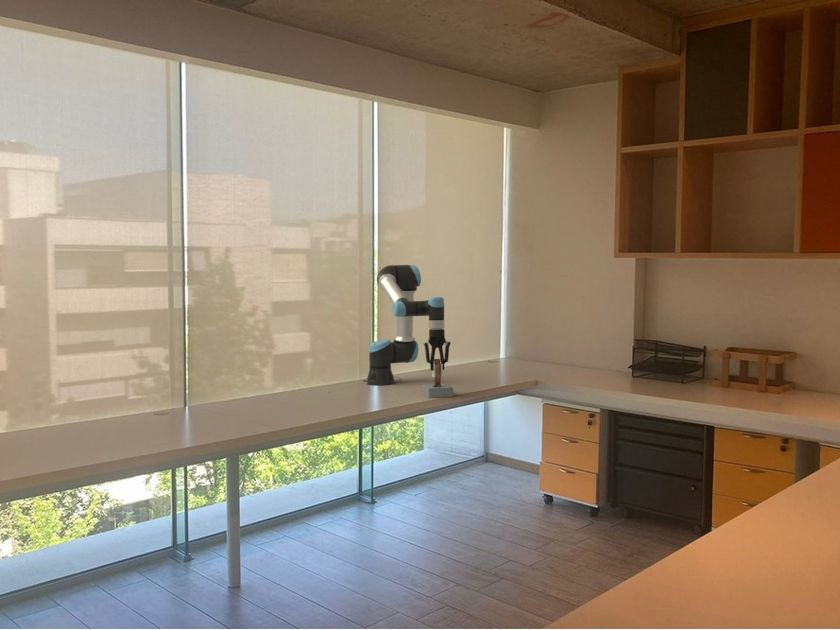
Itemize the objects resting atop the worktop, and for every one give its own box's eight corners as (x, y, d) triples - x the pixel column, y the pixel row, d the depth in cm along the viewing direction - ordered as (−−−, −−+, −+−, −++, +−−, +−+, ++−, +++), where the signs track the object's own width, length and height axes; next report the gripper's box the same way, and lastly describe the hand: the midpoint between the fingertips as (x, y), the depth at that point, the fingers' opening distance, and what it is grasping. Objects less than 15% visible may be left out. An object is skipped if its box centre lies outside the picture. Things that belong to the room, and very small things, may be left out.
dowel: (433, 387, 369) (433, 358, 369) (439, 387, 370) (439, 358, 369) (435, 388, 367) (435, 359, 366) (441, 387, 367) (441, 359, 367)
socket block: (422, 394, 373) (422, 385, 373) (446, 392, 376) (445, 383, 376) (429, 397, 361) (428, 388, 361) (453, 396, 364) (453, 387, 364)
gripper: (422, 329, 361) (423, 378, 363) (454, 328, 365) (455, 377, 367) (418, 328, 369) (419, 376, 370) (450, 327, 373) (451, 375, 374)
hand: (437, 376), depth 368 cm, fingers closed on dowel, 3 cm apart
